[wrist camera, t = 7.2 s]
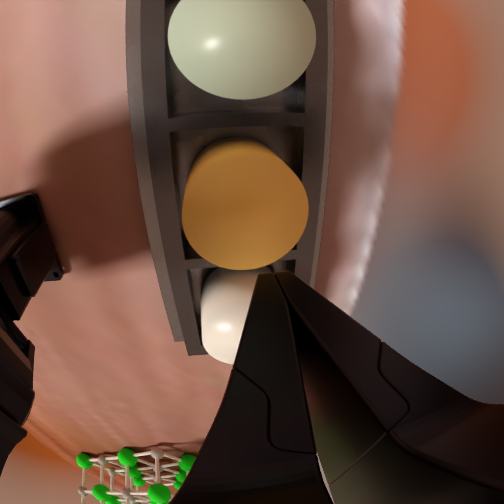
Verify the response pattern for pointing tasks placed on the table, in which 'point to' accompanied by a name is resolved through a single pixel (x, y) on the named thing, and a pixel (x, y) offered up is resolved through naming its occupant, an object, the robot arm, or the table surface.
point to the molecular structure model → (135, 477)
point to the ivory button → (226, 309)
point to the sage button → (242, 45)
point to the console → (208, 132)
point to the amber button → (242, 205)
